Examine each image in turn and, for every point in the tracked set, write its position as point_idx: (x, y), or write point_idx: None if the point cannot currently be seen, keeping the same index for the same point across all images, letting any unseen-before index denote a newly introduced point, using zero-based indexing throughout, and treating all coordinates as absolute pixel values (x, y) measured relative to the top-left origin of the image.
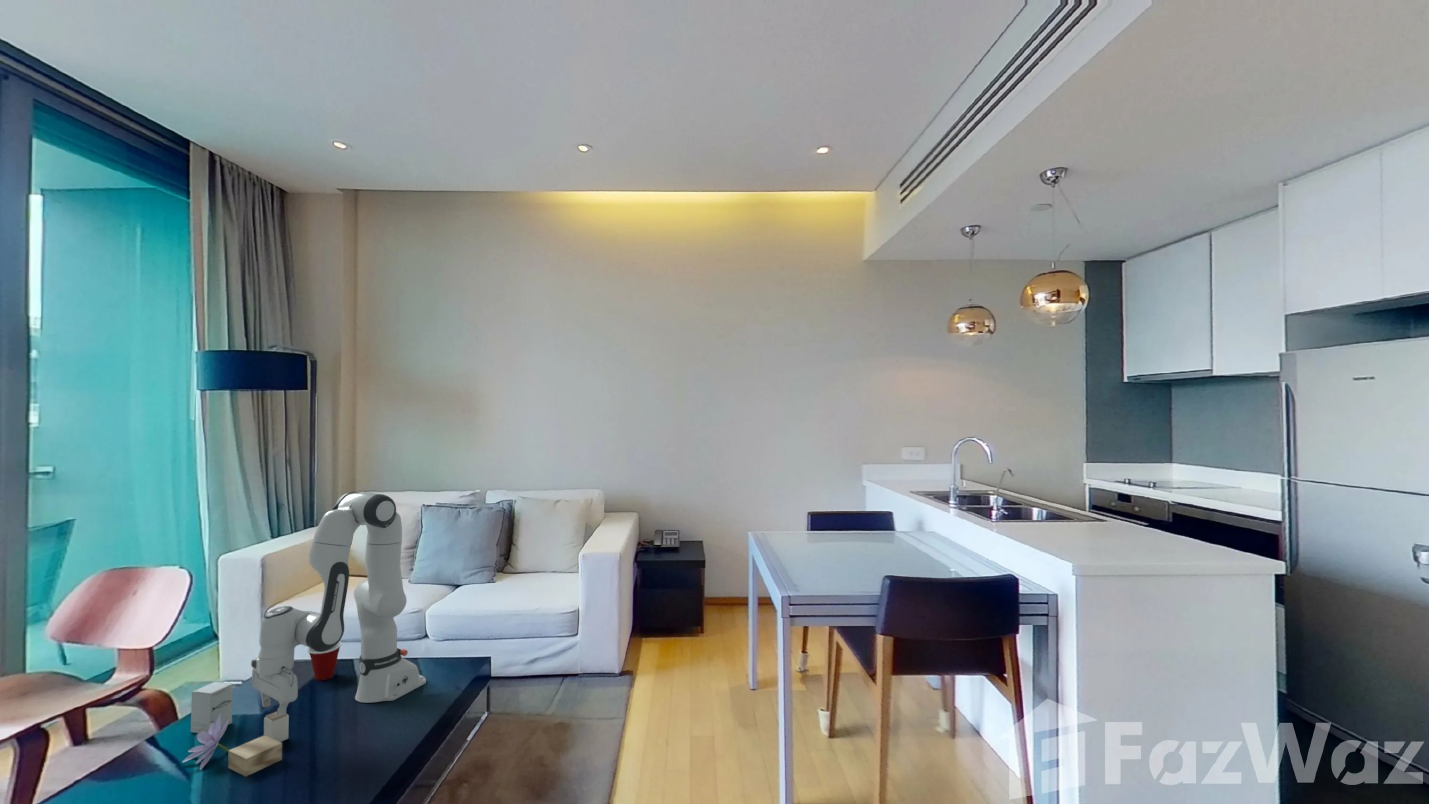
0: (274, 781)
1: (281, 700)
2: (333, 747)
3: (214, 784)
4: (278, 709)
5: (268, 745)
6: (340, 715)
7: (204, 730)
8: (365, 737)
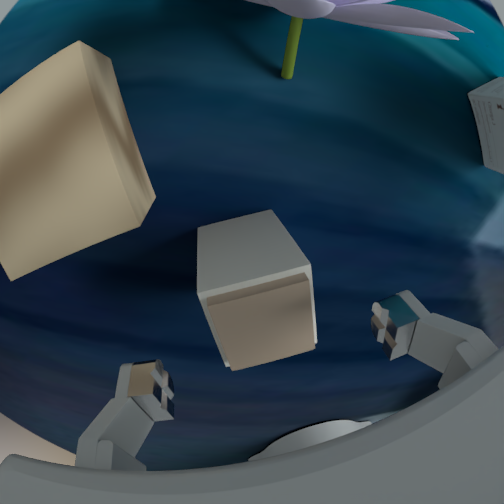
0: None
1: (17, 475)
2: (59, 364)
3: (21, 35)
4: (130, 395)
5: (8, 230)
6: (266, 404)
7: (485, 88)
8: (83, 411)
